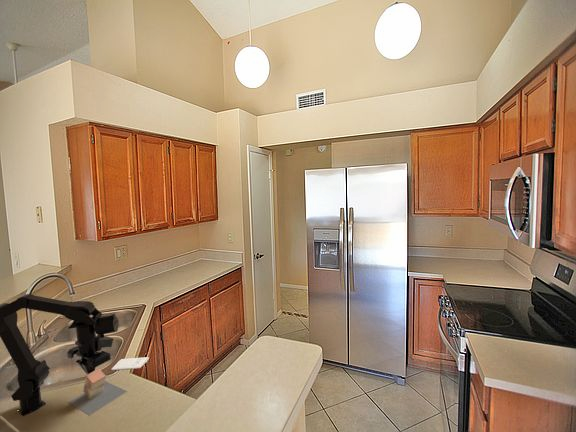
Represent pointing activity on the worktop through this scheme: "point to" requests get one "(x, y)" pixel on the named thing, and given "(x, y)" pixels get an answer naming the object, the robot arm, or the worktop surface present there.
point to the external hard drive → (130, 363)
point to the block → (94, 383)
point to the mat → (97, 399)
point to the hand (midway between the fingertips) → (91, 376)
